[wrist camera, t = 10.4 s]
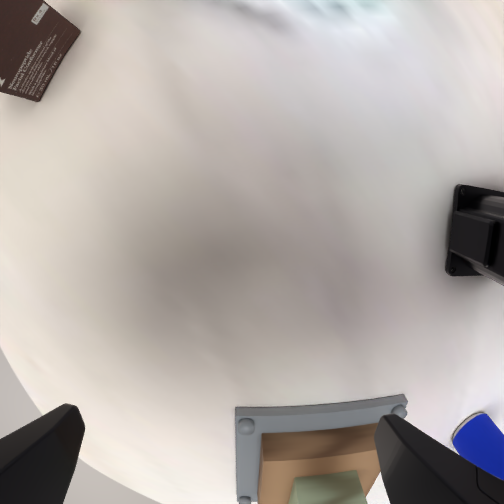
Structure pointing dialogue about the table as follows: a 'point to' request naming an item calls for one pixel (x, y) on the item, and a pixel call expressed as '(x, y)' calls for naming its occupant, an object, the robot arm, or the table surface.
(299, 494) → the block
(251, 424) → the baseplate
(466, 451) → the beverage can
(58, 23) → the box
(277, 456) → the base brick
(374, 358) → the table surface
